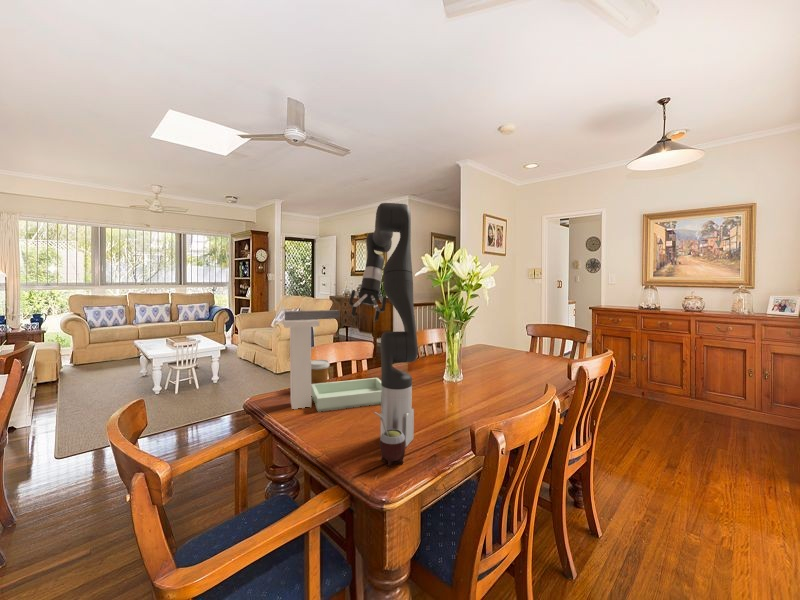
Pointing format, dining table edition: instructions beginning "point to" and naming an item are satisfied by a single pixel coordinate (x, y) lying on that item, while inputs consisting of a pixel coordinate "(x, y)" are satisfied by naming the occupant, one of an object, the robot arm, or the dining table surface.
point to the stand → (300, 361)
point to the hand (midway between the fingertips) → (364, 319)
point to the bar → (312, 315)
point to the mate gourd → (392, 445)
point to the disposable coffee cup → (319, 371)
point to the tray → (346, 394)
